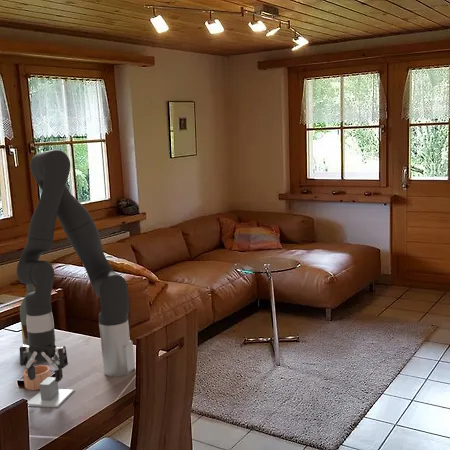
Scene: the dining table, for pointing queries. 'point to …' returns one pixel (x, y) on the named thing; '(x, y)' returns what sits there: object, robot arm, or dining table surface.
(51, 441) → the dining table surface
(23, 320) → the bottle
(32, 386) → the bowl
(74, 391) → the mat
